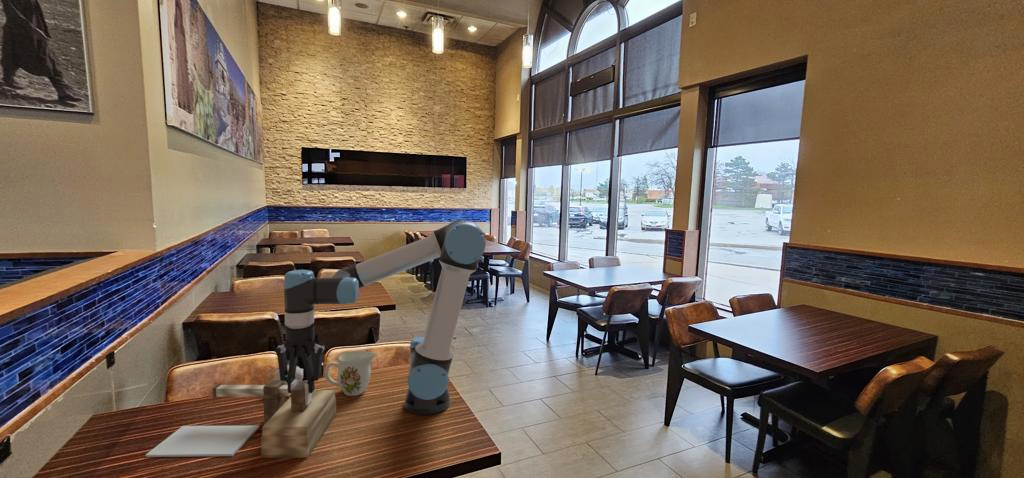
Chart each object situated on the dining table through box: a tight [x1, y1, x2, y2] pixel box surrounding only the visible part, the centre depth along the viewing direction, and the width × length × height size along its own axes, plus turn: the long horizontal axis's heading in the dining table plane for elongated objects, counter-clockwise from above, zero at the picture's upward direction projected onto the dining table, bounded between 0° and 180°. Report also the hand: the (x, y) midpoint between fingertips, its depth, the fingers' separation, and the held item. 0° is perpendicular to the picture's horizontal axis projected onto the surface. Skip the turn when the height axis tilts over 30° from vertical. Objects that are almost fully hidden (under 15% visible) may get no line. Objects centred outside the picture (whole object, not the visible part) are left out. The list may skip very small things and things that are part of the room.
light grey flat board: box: [145, 425, 261, 458], centre depth 120 cm, size 22×14×1 cm, turn 94°
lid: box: [261, 380, 336, 436], centre depth 123 cm, size 12×21×9 cm, turn 4°
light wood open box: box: [260, 379, 337, 459], centre depth 124 cm, size 19×22×12 cm
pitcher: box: [324, 350, 378, 397], centre depth 151 cm, size 11×18×14 cm, turn 96°
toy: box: [267, 364, 305, 385], centre depth 153 cm, size 13×9×15 cm
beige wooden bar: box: [211, 382, 291, 399], centre depth 129 cm, size 22×3×3 cm, turn 94°
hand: (301, 402), depth 123 cm, fingers closed on lid, 3 cm apart
